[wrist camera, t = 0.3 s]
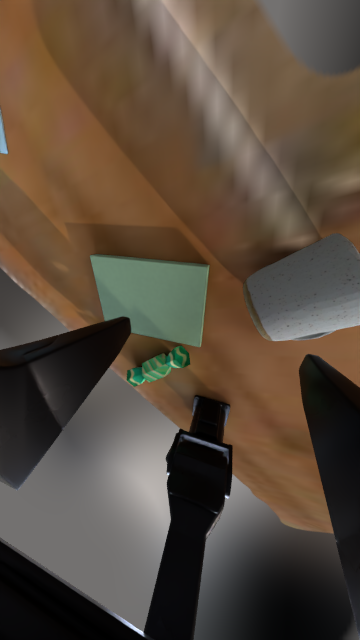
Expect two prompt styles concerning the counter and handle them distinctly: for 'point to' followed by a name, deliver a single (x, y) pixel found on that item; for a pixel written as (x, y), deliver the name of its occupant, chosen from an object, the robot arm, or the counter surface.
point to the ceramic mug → (307, 292)
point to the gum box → (2, 137)
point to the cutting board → (154, 295)
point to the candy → (158, 366)
